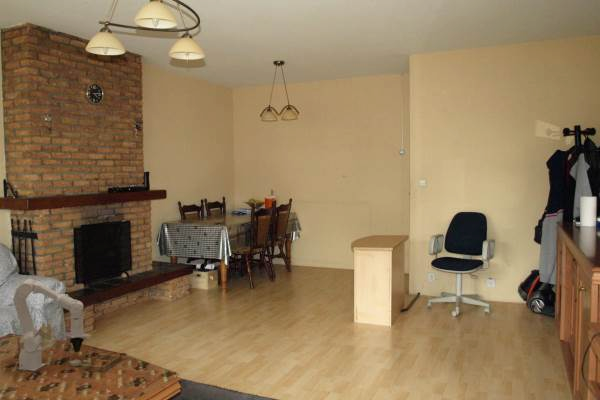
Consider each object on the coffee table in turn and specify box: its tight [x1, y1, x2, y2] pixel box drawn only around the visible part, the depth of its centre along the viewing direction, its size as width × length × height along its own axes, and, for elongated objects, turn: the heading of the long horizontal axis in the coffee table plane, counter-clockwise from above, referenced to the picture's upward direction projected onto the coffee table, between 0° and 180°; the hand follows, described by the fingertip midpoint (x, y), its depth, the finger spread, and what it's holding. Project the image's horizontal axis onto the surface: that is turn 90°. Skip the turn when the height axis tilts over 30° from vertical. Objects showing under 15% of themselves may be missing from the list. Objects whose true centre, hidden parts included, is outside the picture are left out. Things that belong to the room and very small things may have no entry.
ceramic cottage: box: [18, 322, 57, 352], centre depth 262 cm, size 16×16×15 cm
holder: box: [78, 352, 123, 373], centre depth 238 cm, size 14×15×2 cm
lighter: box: [68, 358, 92, 368], centre depth 238 cm, size 7×2×8 cm
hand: (77, 351), depth 240 cm, fingers closed
